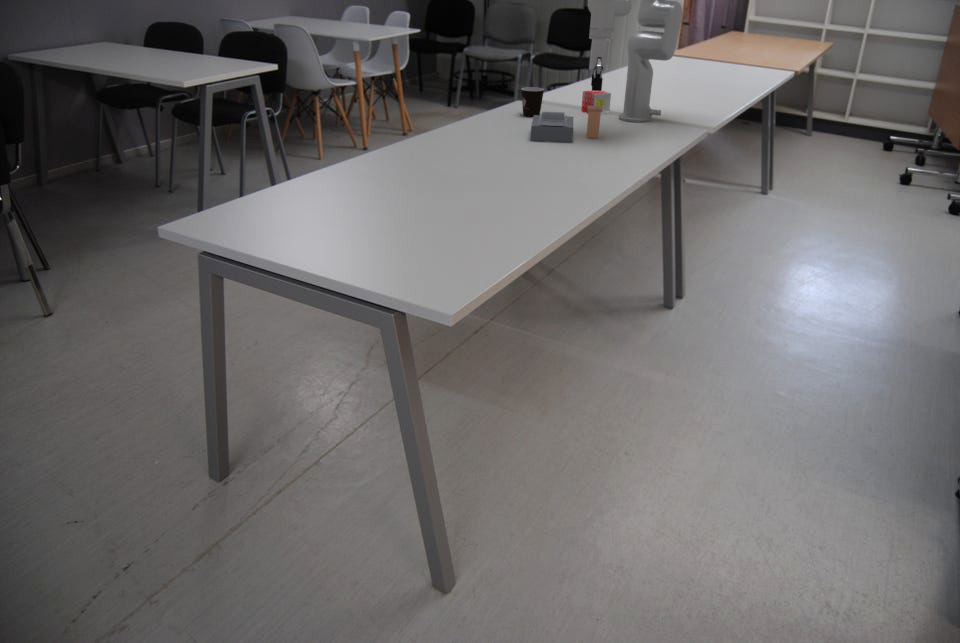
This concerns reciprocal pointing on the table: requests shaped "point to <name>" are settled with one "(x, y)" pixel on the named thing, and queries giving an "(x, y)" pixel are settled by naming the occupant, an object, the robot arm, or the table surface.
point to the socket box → (552, 130)
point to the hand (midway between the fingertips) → (596, 88)
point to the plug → (593, 121)
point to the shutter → (553, 118)
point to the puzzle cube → (596, 100)
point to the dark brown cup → (531, 101)
